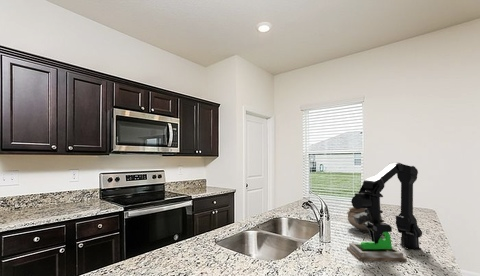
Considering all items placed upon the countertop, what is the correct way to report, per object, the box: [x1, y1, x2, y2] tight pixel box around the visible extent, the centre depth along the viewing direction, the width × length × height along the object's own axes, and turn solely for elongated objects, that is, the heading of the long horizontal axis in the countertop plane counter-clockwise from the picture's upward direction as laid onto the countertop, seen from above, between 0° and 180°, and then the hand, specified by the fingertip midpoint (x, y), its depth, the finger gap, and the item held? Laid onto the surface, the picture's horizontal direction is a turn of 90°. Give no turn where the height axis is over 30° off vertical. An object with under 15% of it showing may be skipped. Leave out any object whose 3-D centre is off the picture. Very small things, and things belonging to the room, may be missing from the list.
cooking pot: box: [346, 206, 385, 233], centre depth 150 cm, size 25×19×12 cm
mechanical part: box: [360, 232, 393, 249], centre depth 115 cm, size 12×6×8 cm, turn 88°
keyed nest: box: [346, 242, 408, 262], centre depth 112 cm, size 20×13×3 cm, turn 88°
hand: (374, 242), depth 113 cm, fingers closed on mechanical part
